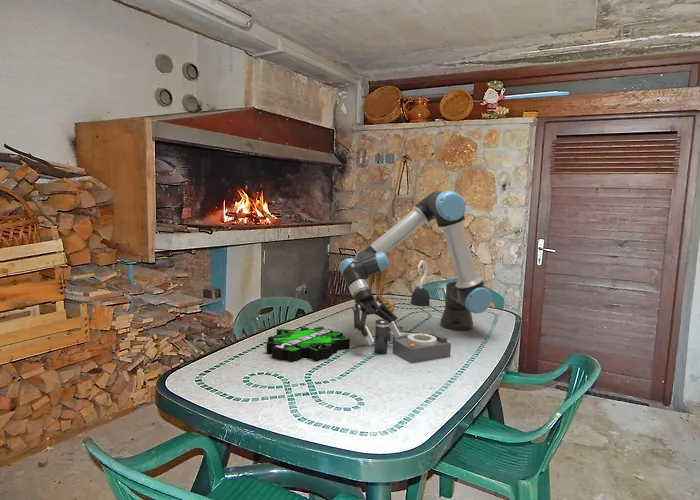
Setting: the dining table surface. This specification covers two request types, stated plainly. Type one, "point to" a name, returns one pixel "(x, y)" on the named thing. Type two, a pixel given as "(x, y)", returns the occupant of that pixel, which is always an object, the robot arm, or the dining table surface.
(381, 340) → the lens
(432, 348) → the camera body
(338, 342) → the sign
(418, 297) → the hook
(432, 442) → the dining table surface
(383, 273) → the statue
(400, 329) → the handgun
